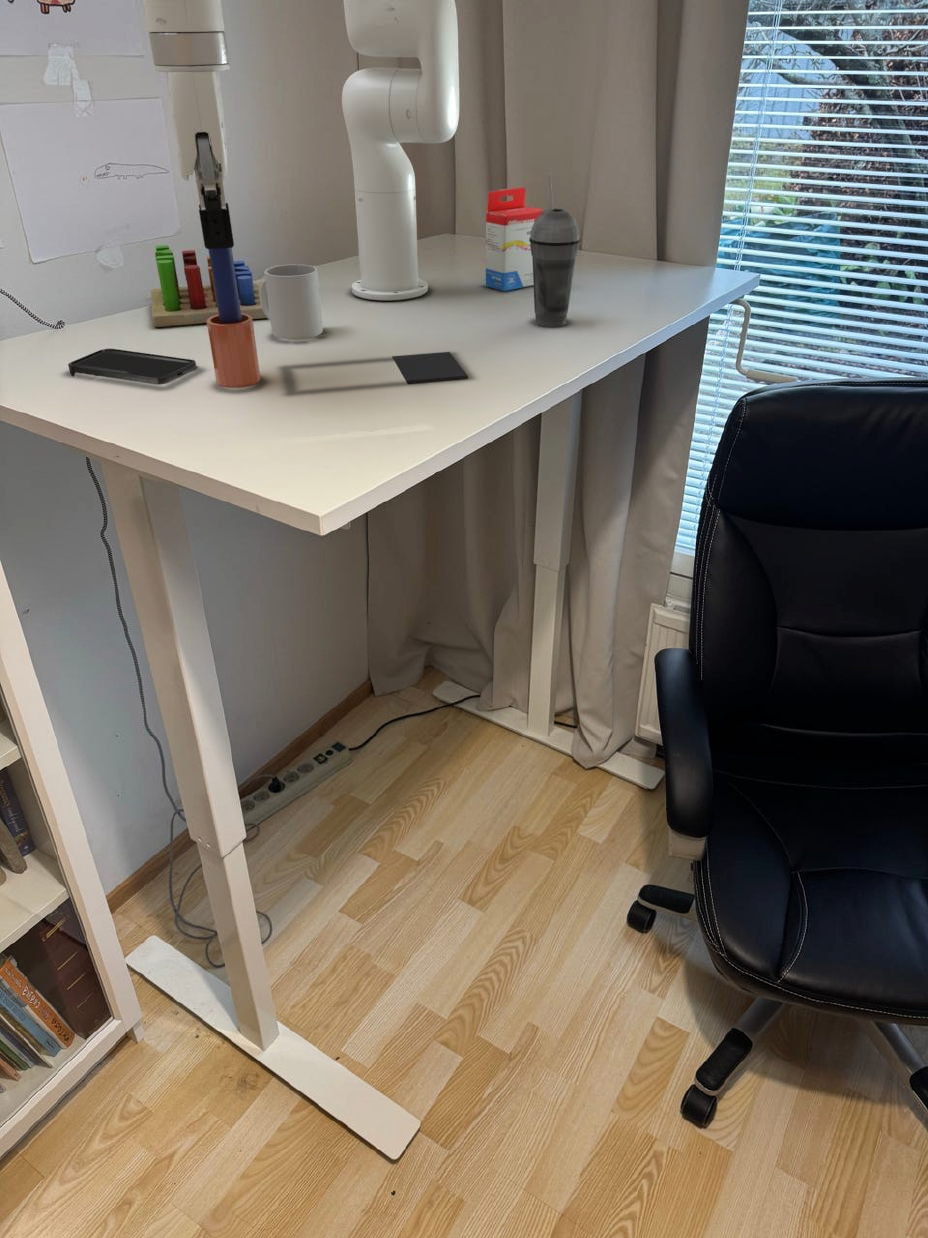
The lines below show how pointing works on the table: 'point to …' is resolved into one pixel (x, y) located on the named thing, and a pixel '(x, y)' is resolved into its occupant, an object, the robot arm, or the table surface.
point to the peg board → (196, 291)
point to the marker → (225, 284)
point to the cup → (292, 301)
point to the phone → (132, 366)
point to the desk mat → (429, 367)
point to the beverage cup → (553, 263)
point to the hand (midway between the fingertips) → (219, 243)
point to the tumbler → (234, 352)
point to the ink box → (509, 240)
